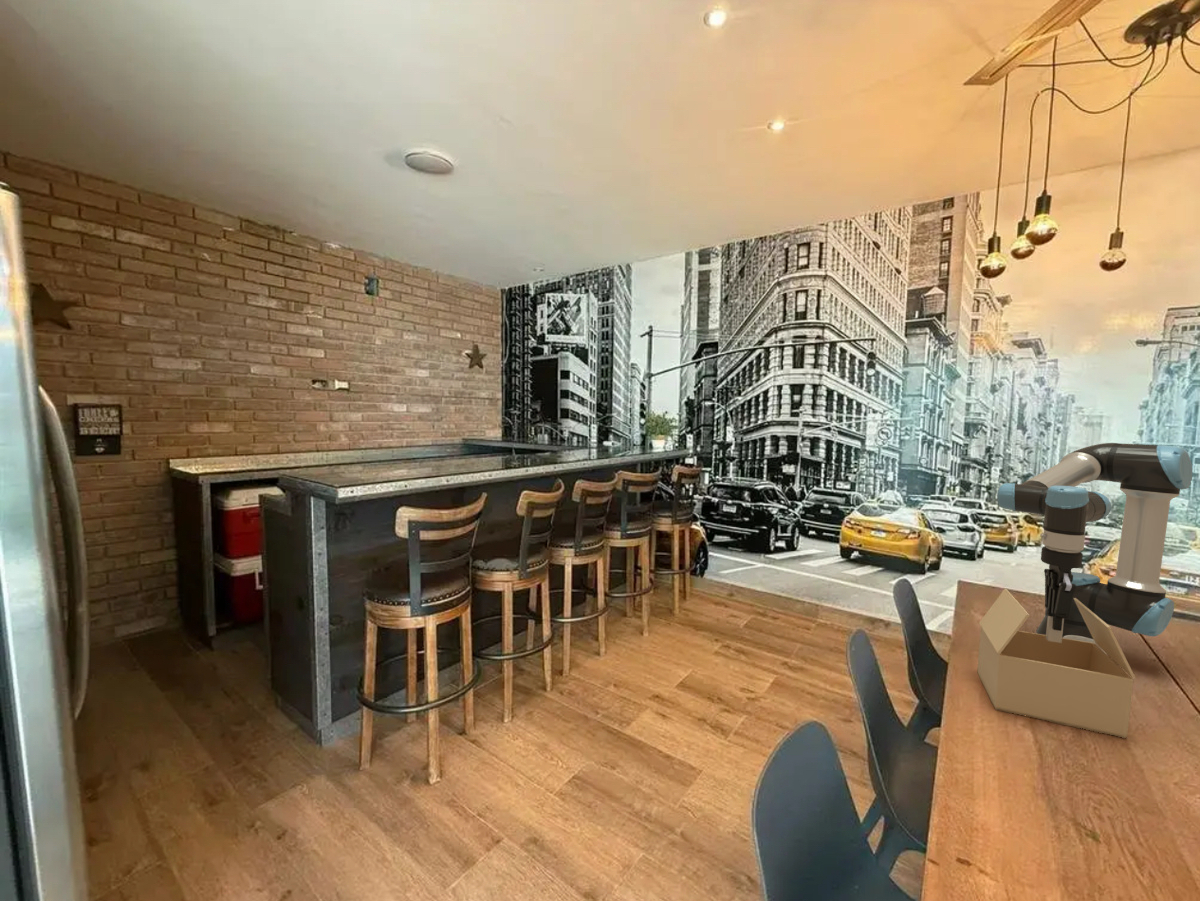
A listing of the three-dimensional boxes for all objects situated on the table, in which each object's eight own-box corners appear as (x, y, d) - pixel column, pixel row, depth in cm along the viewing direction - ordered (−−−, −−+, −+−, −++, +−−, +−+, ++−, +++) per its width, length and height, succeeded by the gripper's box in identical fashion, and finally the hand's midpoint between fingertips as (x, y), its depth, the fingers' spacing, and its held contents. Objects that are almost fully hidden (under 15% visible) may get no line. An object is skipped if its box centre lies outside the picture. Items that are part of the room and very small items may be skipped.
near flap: (1095, 642, 131) (1097, 642, 130) (1132, 678, 113) (1135, 678, 113) (1073, 598, 132) (1075, 597, 132) (1107, 627, 114) (1110, 626, 114)
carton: (1089, 694, 132) (1094, 643, 131) (1126, 738, 114) (1133, 679, 113) (977, 672, 143) (980, 624, 141) (995, 709, 125) (999, 655, 123)
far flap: (999, 654, 124) (997, 652, 124) (981, 623, 141) (979, 622, 141) (1029, 615, 120) (1027, 614, 121) (1006, 589, 138) (1005, 588, 138)
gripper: (1034, 540, 132) (1026, 627, 134) (1051, 553, 120) (1043, 648, 122) (1071, 544, 129) (1063, 633, 131) (1093, 557, 117) (1083, 655, 119)
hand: (1053, 640), depth 127 cm, fingers closed
